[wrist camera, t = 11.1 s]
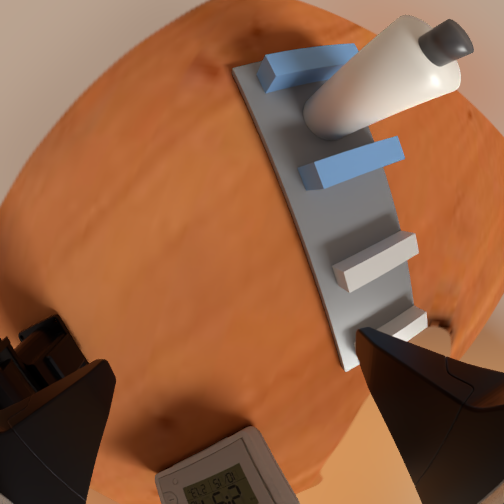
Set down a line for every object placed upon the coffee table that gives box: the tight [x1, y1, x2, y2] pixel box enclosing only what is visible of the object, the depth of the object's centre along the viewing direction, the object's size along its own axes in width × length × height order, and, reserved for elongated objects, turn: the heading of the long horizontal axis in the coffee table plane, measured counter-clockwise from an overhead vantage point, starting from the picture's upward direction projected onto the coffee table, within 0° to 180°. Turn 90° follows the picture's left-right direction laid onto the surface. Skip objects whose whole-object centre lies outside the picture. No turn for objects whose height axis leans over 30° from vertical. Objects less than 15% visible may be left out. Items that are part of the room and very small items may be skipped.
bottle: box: [303, 15, 474, 140], centre depth 12 cm, size 4×4×14 cm
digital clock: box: [155, 426, 300, 504], centre depth 19 cm, size 16×9×11 cm, turn 118°
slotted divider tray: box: [232, 44, 427, 372], centre depth 19 cm, size 9×28×4 cm, turn 22°
